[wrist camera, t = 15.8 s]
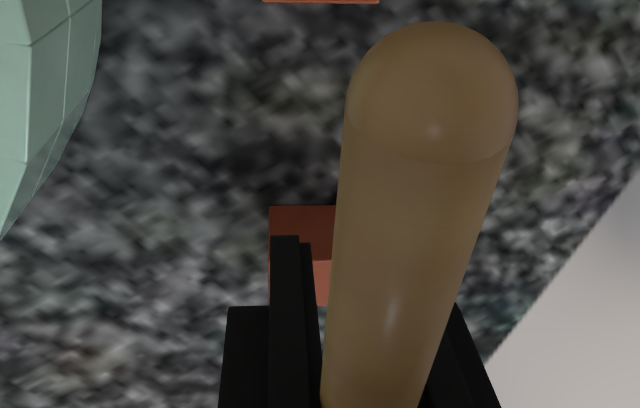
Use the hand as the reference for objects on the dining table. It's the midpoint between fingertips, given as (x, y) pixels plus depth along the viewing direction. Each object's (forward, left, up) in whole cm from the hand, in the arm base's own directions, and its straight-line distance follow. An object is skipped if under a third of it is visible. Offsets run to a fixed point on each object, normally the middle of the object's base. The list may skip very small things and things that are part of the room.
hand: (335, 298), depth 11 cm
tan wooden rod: (0, 0, +3) cm, 3 cm away
